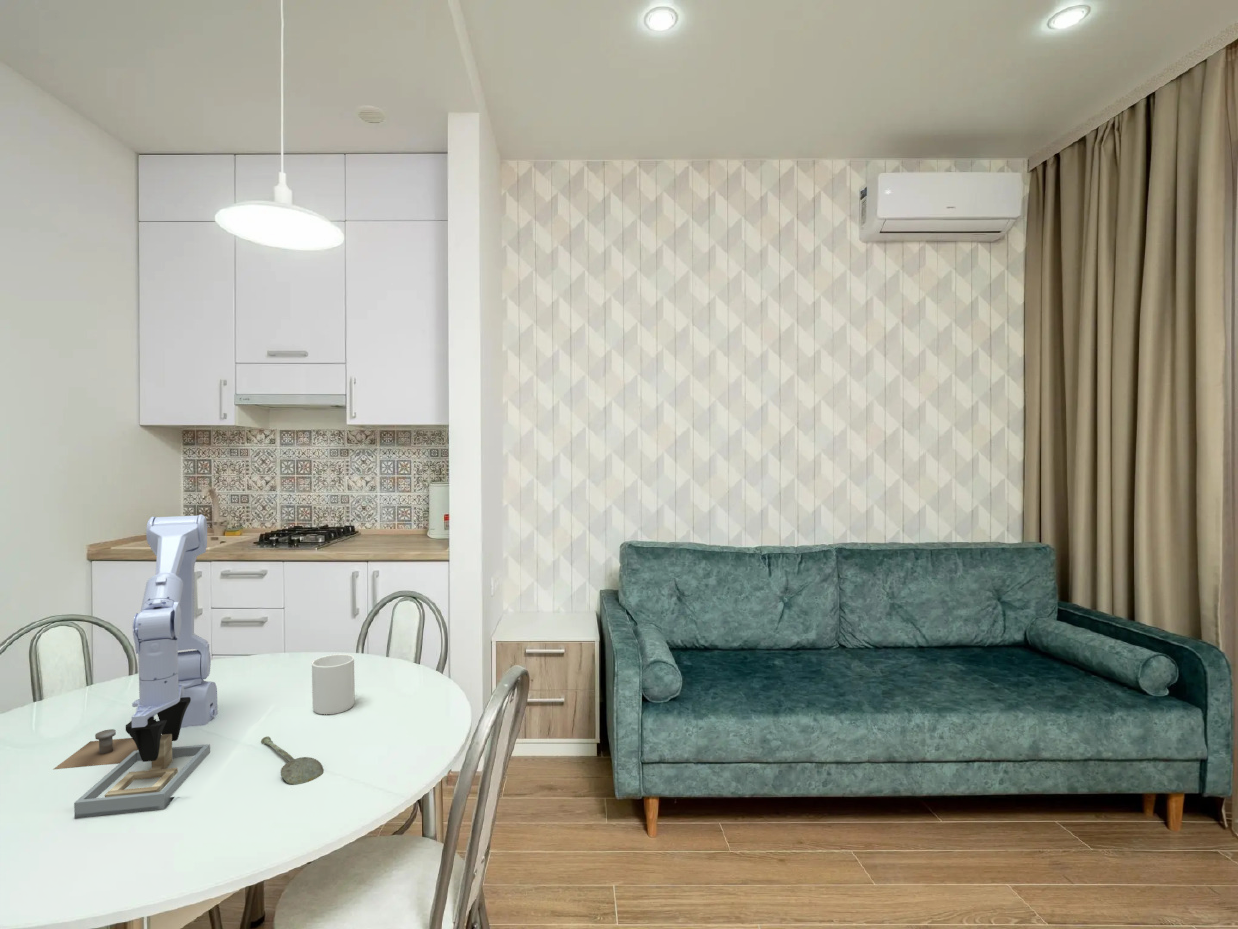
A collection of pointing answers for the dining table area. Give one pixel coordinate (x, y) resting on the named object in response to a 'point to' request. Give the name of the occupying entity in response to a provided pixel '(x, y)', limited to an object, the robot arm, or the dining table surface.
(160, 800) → the grey rectangular frame
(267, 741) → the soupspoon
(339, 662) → the mug
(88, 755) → the block
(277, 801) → the dining table surface
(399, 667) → the dining table surface
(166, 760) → the wooden knob frame
